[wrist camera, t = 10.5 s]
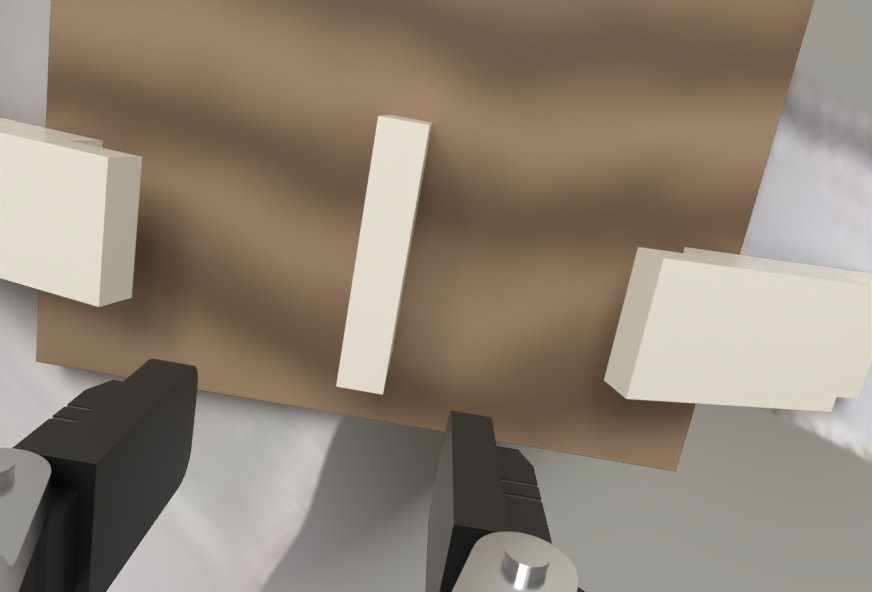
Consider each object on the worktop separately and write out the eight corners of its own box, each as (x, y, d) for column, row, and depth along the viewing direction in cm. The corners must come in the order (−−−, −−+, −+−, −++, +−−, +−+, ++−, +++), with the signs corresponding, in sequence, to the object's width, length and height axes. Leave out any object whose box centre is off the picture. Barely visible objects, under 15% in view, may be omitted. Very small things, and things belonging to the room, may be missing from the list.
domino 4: (674, 385, 27) (858, 398, 30) (710, 256, 26) (899, 283, 28) (651, 369, 28) (829, 382, 31) (684, 246, 27) (866, 272, 30)
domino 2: (390, 114, 27) (354, 340, 29) (378, 115, 22) (336, 386, 24) (432, 122, 27) (393, 347, 29) (429, 125, 22) (382, 394, 24)
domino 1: (131, 297, 25) (-64, 241, 28) (142, 156, 24) (-64, 109, 26) (98, 307, 24) (-106, 247, 26) (108, 157, 23) (-108, 107, 25)
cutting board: (84, -164, 26) (58, -184, 24) (799, -24, 27) (823, -33, 25) (59, 347, 31) (36, 361, 29) (662, 452, 32) (675, 471, 30)
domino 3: (625, 398, 24) (831, 412, 27) (663, 257, 23) (875, 286, 26) (603, 380, 26) (800, 394, 29) (638, 246, 25) (840, 274, 27)
